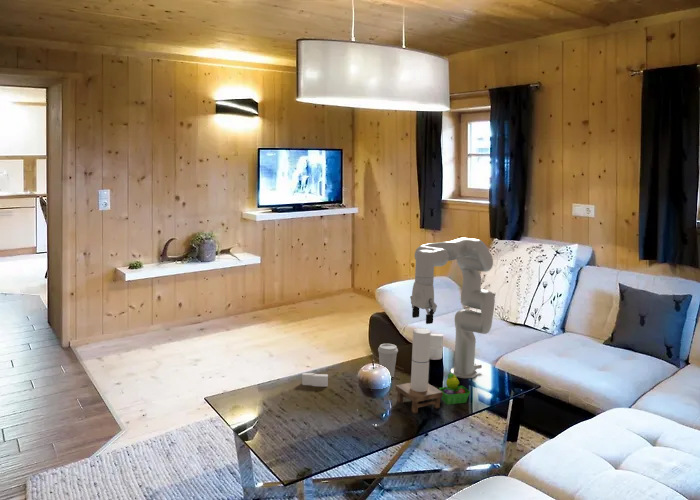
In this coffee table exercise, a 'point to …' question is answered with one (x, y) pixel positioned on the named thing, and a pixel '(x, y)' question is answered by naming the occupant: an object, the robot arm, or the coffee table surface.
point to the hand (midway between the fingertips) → (422, 320)
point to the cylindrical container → (420, 359)
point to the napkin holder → (315, 379)
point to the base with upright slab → (436, 346)
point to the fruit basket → (454, 391)
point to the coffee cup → (388, 356)
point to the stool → (419, 396)
